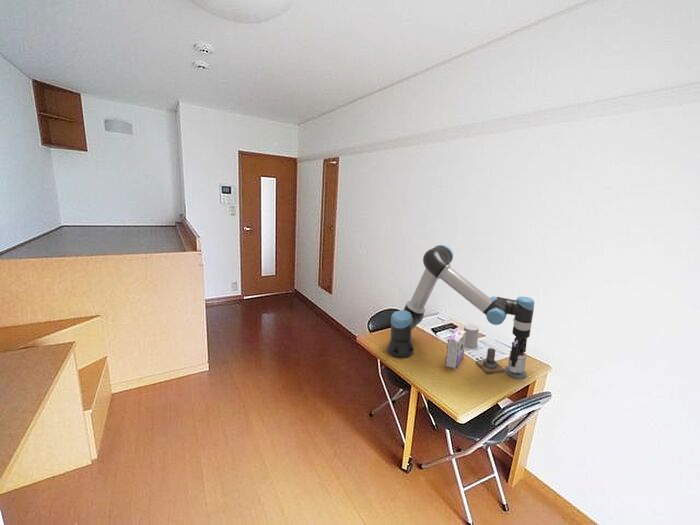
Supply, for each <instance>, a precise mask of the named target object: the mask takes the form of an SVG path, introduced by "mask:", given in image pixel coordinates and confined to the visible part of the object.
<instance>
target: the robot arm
mask: <svg viewBox="0 0 700 525" xmlns="http://www.w3.org/2000/svg"><path fill="white" fill-rule="evenodd" d="M453 259H454V253H453V250H452V249H451V248H450V247H449V246H447V245H445V244H440V245H439V244H438V245H436V246H434V247H433V248H431V249H428V250H427V251H426V252H425V253H424V254H423V258H422V261H423V262H422V263H423V265H424V267H425V268H424V270H423V273H422V276H421V278H420V280H419V282H418V284H417V286H416V288H415V291H414V293H413V295H412V297H411V300H409V301H407V302H406V304H405V306H404V308H403V310H402V309H401V310H397V311H396V310H395V311H394V312H393V313H392V314H391V317H390V318H391V319H390V339H389V342H388V345H387V353H388V352H389V353H390V354H391V355H390V354H389V353H388V354H389V355H390V356H392V355H393V356H392V357H394V356H395V357H394V358H398V357H400V358H399V359H407V358H411V357H412V356H413V355H414V352H415V348H414V345H413V341H412V330H414V329H415V328H416V326H417V325H419V324H421V322H422V321H423V318H424V316H425V312H426V309H425V306H426V304H427V302H428V300H429V298H430V296H431V294H432V291H433V290H434V287H435V286H436V283H437V281H438V280H442V281H443V282H444V283H445V284H447V285H448V286H449V287H450V288H452V289H453V290H454V291H456V293H457V294H459V295H460V296H461V297H463V298H464V299H465V300H467V301H468V302H469V303H470V304H471V305H473V306H474V307H475V308H476V309H478V310H479V311H480V312H482V313H483V314H484V315H485V316H486V320H487V322H489V323H490V324H491V325H494V326H498V325H501V324H503V322H504V321H505V320H506V318H507V315H511V316H514V318H513V319H512V320H513V327H512V335H513V336H514V340H513V341H512V343H511V349H510V351H511V355H510V354H509V356H510V358H509V357H508V360H509V359H510V360H511V366H510V371H512V372H514V373H516V370H517V363H518V361H517V359H518V355H519V351H521V352H524V353H525V354H526V351H527V341H528V338H530V336H531V329H532V322H533V316H534V310H535V308H534V307H535V300H534V299H533V298H531V297H528V296H518V297H517V298H516V299H512V298H511V299H510V298H505V297H500V296H492V295H491V297H489V296H488V295H487V294H486V293H484V292H483V290H481V289H479V288H477V286H475V285H474V284H473V283H472V282H470V281H469V280H467V279H466V278H465V277H464V276H463V275H461V274H460V273H459V272H458V271H456V270H455V269H454V268H452V267H451V263H452V262H453ZM526 355H527V354H526Z"/></svg>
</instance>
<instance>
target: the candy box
mask: <svg viewBox="0 0 700 525" xmlns="http://www.w3.org/2000/svg"><path fill="white" fill-rule="evenodd" d="M465 336H466V331H464V330H462V329H457V328H455V329H454V331H453V332H452V333H451V334H450V336H449V337H448V338H447V346H446V360H445V367H448V368H450V369H452V370H453V369H454V370H457V369H458V367H459V366H460V364H461V363H462V360H463V359H464V357H465V348H466V347H465Z"/></svg>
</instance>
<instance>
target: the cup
mask: <svg viewBox="0 0 700 525" xmlns="http://www.w3.org/2000/svg"><path fill="white" fill-rule="evenodd" d="M463 326H464V327H463V331H466V336H465V347H464V348H465V349H469V350H470V349H473V350H474V349H477V347H478V340H479V331H480V327H479V326H478V325H477V324H473V323H466V324H464V325H463Z"/></svg>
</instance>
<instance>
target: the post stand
mask: <svg viewBox="0 0 700 525" xmlns="http://www.w3.org/2000/svg"><path fill="white" fill-rule="evenodd" d="M495 357H496V349H495V348H492V347H489V348H487V352H486V358H484V359H481V360H476V361H475V365H476V366H477V367H478V368H479V369H480V370H482V371H483V373H484V374H486V375H491V374H492V375H493V374H498V373H499V374H500V373H505V367H504V368H503V366H501V365H500V364H499V363H498V361H496V360H495Z"/></svg>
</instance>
